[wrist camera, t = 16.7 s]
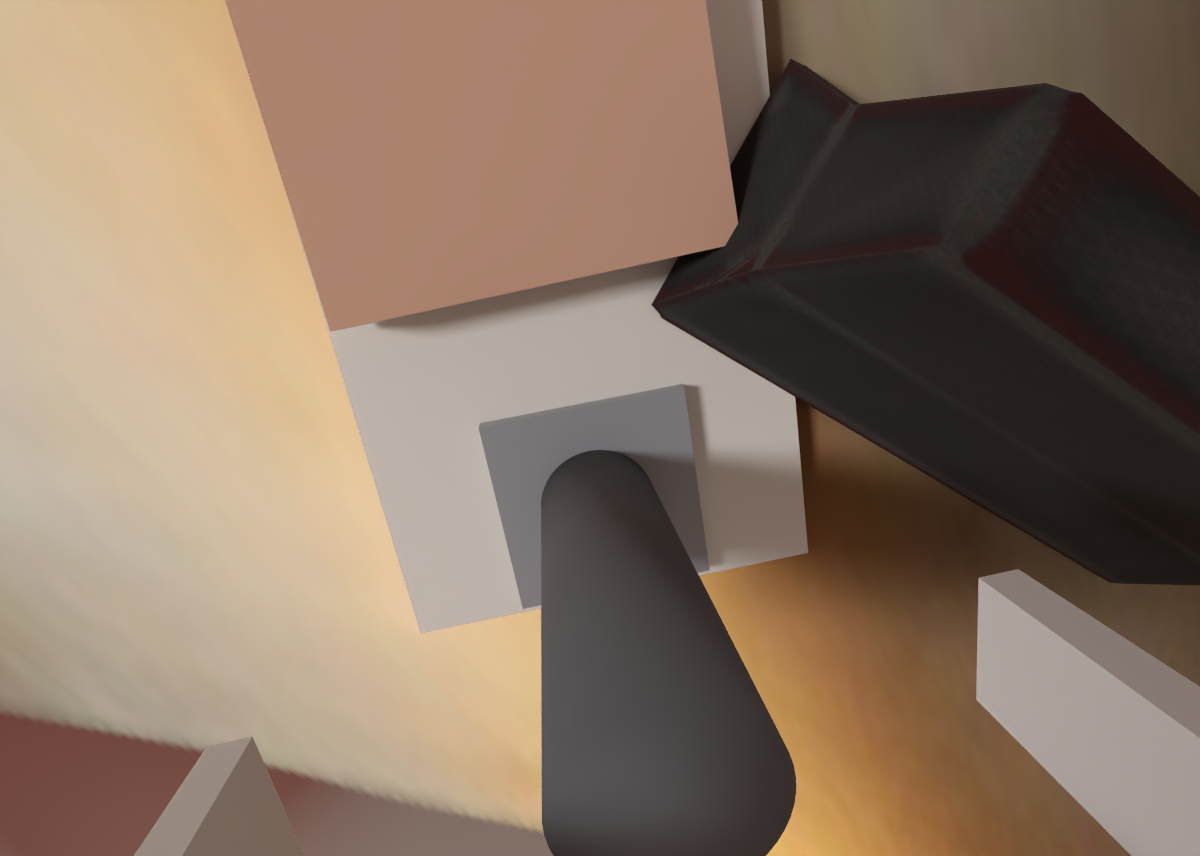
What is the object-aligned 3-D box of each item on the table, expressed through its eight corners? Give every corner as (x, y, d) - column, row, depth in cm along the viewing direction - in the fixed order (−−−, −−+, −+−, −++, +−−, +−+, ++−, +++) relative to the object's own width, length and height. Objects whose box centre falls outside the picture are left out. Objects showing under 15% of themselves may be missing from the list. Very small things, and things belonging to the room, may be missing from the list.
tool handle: (553, 566, 21) (568, 926, 10) (530, 462, 20) (516, 730, 8) (662, 543, 21) (805, 871, 10) (645, 439, 20) (784, 671, 9)
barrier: (646, 309, 19) (772, 350, 10) (791, 55, 18) (1103, -189, 8) (1113, 584, 25) (1480, 779, 16) (1251, 407, 24) (1749, 502, 14)
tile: (239, -35, 16) (351, 327, 18) (202, -73, 14) (330, 331, 17) (667, -122, 16) (724, 247, 19) (680, -171, 15) (740, 242, 17)
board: (424, 620, 23) (417, 643, 21) (171, -221, 16) (136, -267, 14) (799, 543, 23) (815, 560, 22) (724, -302, 16) (741, -353, 15)
